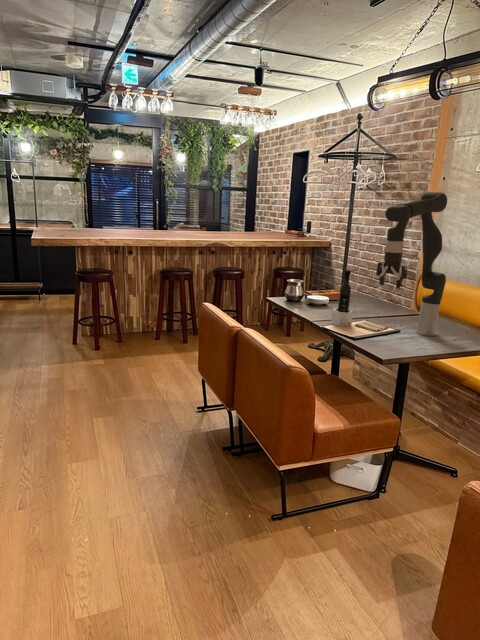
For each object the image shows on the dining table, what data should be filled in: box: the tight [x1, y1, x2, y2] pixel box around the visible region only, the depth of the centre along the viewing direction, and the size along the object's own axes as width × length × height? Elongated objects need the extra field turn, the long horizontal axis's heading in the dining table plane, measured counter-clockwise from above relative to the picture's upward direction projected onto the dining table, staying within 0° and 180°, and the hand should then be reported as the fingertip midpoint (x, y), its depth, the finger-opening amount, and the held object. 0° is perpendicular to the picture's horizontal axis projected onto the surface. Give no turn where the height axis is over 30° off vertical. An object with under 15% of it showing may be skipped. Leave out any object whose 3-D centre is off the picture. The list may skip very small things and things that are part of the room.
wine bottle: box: [337, 269, 352, 312], centre depth 251 cm, size 6×6×30 cm
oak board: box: [354, 321, 389, 332], centre depth 252 cm, size 13×13×1 cm
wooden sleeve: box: [331, 307, 354, 327], centre depth 253 cm, size 10×10×8 cm
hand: (389, 286), depth 209 cm, fingers open, 8 cm apart
